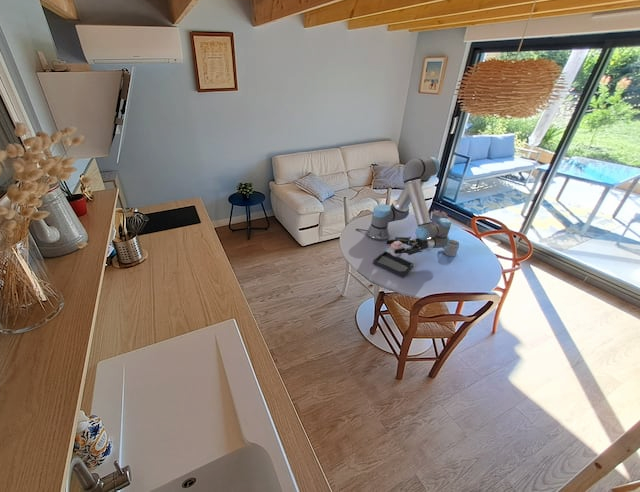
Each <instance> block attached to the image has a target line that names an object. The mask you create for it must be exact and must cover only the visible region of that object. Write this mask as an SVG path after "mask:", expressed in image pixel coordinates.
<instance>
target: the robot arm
mask: <svg viewBox="0 0 640 492" xmlns="http://www.w3.org/2000/svg"><path fill="white" fill-rule="evenodd" d="M440 169H441V165H440V161H439V160H438V159H437V158H436V157H434V156H424V157H419V158H412V159H410V160H409V161H407V162H406V163H405V165H404V166H403V169H402V182H403V185H404V188H403V189H402V191H401V193H400V194H399V196H398V197H397V199H394V200H393V202H392V203H391V205H388V204H383V203H380V204H377V205H375V206H374V207H373V210H372V216H371V222H370V225H369V227H368V229H362V228H356V231H364V232H366V235H367V237H368V238H369V239H371V240H375V241H385V240H386V243H385V245H387V246H389V245H391V244H392V243H393V242H395V241H398V240H399V241H400V242H402V243H403V245H406V246H408V247H407V248H406V247H404V248H403V249H395V252H394V253H395V254H398V253H402V254H407V255H408V256H412V255H415V254H417V253H422V252H423V251H424V250H429V249H430V250H431V249H441V248H442V247H446V246H448V245H449V244H450V240H451V239H450V236H449V232H450V230H451V226H452V220H450V219H449V218H448V219H447V218H439V219H438V221H437V223H435V224H432V223H431V222H432V221H431V220H430V217H431V216H430V217H429V210H428V206H427V203H426V199H425V195H424V192H423V188H422V186H423V185H424V184H425V183H427V182H429V180H430V179H431V178H432V176H436V175H437V174H438V173H439V172H440V171H441V170H440ZM410 204H411V206H412V210H413V213H414V217H415V221H416V224H417V228H415V231H414V234H415V236H416V238H415V239H414V238H413V239H412V237H411V236H395V237H394V239H393V238H392V239H388V238H389V228H388V226H389V223H392V222H396V221H397V222H398V221H403V220H404V219H407V218H408V216H409V214H410ZM442 249H443V248H442Z"/></svg>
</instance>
